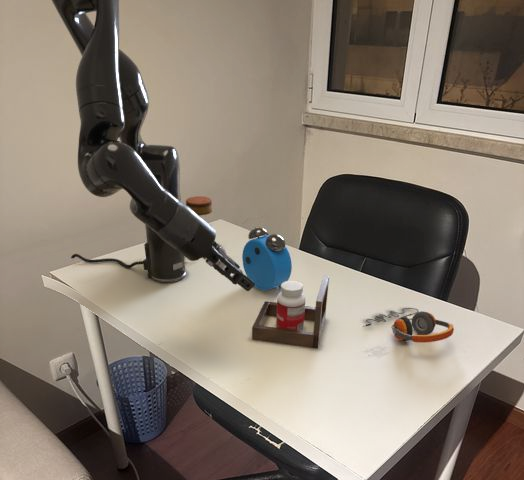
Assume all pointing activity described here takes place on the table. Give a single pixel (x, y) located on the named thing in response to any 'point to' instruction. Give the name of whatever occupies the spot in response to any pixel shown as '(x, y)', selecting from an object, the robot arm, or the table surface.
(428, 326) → the headphones
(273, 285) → the alarm clock
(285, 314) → the pill bottle
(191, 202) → the multicoloured stacked figure
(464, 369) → the table surface
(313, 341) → the wooden frame
